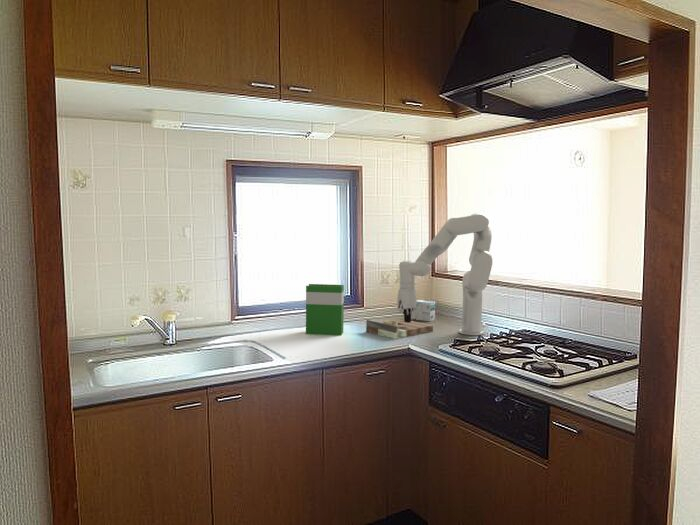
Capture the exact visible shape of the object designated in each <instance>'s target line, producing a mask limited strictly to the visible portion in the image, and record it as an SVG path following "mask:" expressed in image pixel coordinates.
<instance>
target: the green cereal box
mask: <svg viewBox="0 0 700 525" xmlns="http://www.w3.org/2000/svg"><path fill="white" fill-rule="evenodd" d="M344 289H345V285H344V284H329V283H328V284H324V283H323V284H319V283H308V285H306V286H305V335H320V336H325V335H326V336H342V335H343V334H344V318H345V317H344V314H345V312H344V309H345V308H344V304H345V303H344V302H345V300H344V297H345V296H344V295H345V292H344V291H345V290H344Z"/></svg>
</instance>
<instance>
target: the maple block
mask: <svg viewBox="0 0 700 525" xmlns="http://www.w3.org/2000/svg"><path fill="white" fill-rule="evenodd" d="M382 323H384V324H389V325H393V326H397V329H398V320H393V319H387V320H383V322H382Z"/></svg>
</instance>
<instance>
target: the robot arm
mask: <svg viewBox="0 0 700 525" xmlns="http://www.w3.org/2000/svg"><path fill="white" fill-rule="evenodd" d="M489 224H490V220H489V217H488V216H487V215H485V214H483V213H473V214H471V215H468V216H459V217H450V218H449V219H447V220H446V222H445V223H444V224H443V225H442V227H441V228H440V229H439V231H438V232H437V233H436V235H435V236H434V237H433V239H432V240H431V241H430V242H429V243H428V244H427V246H426V247H425V248H424V249H423V251H422V252H421V253H420V255H419V256H418V257H417V259H416V260H415V261H414V262H413V261H410V260H409V261H408V260H407V261H406V260H403V261H401V262H399V264H398V269H399V271H398V273H399V274H398V275H399V278H398V279H399V289H398V291H397V298H396V299H397V300H396V302H397V303H396V305H397V306H396V308H397V309H399V312H400V313H401V312H402V313H403V318H404V319H403V320H404V322H408V323H409V322H411V321H412V315H413V314H412V313H413V312H414V309H415V307H416V303H417V301H416V300H417V292H416V288H415V285H416V283H415V276H416V277H417V276H418V277H426V276H428V275H429V274H430V272H431V270H432V269H431V265H432V263H434V261H435V260H436V259H437V258H438V257H439V256H441V255H442V254H444V253H445V252H446V251H447V250H448V248H449V247H450V246H451V245H452V243H453V242H454V240H455V239H456V238H457V237H458V236H463V235H469V234H473V241H472V246H471V250H470V254H469V257H468V262H469V264H470V266H471V267H470V270H468V271H466V272H465V273H464V275H462V282H461V284H462V310H461V311H462V312H461V317H462V318H461V328H459V329H458V333H459V334H461V335H466V336H482V335H485V330H483V328H486V326H487V325H486V323H482V318H483V317H482V316H483V314H482V313H483V310H482V309H483V291H484V290H485V289H486V288H487V285H488V282H489V279H490V275H491V272H492V267H493V257H492V254H491V253H490V250H491V244H492V231H491V227H490V226H489Z"/></svg>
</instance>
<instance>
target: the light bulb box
mask: <svg viewBox="0 0 700 525" xmlns="http://www.w3.org/2000/svg"><path fill="white" fill-rule="evenodd" d="M416 301H417V303H416V307H415V309H414V310H413V320H414V319H416V321H425V322H432V321H435V320H436V301H435V300H434V301H433V300H426V299H425V300H424V299H423V300H422V299H416Z"/></svg>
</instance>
